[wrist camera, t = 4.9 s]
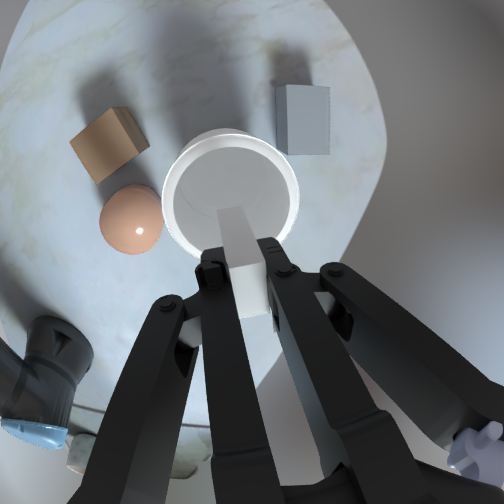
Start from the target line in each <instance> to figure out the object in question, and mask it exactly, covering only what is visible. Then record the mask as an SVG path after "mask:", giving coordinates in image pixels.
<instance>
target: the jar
mask: <svg viewBox="0 0 504 504" xmlns="http://www.w3.org/2000/svg"><path fill="white" fill-rule="evenodd" d="M299 203H300V195H299V187H298V183H297V179H296V176H295V174H294V172H293V170H292V168H291V166H290V164H289V163H288V162H287V160H286V159H285V158H284V157H283V155H282V154H281V153H280V152H278V151H277V150H276V149H275V148H274V147H272V146H271V145H269V144H268V143H266V142H264V141H262V140H260V139H258V138H257V137H255V136H253V135H251V134H249V133H247V132H244V131H241V130H237V129H230V128H221V129H214V130H210V131H207V132H205V133H202V134H200V135H198V136H197V137H195V138H194V139H192V140H191V141H190V142H189V143H188V144H187V145H186V146H185V147H184V148H183V149H182V150H181V152H180V153H179V154H178V156H177V158H176V160H175V162H174V164H173V166H172V167H171V169H170V171H169V172H168V175H167V177H166V179H165V182H164V186H163V191H162V212H163V217H164V221H165V224H166V226H167V228H168V230H169V232H170V234H171V236H172V237H173V239H174V240H175V241H176V243H177V244H178V245H179V246H180V247H181V248H182V249H183V250H184V251H186V252H187V253H188V254H190V255H191V256H193V257H194V258H196V259H198V260H200V261H201V258H200V255H201V254H202V252H203V251H204V250H206V249H211V248H216V247H222V246H223V242H222V237H221V231H220V226H219V220H218V214H217V210H219V209H225V208H230V207H236V206H242V208H243V210H244V213H245V215H246V217H247V220H248V222H249V224H250V227H251V229H252V231H253V234H254V236H255V238H256V239H261V238H267V237H273V238H275V239H276V240H278V241H279V243H280V245H281V244H282V243H283V242H284V241H285V239H286V238H287V237H288V235H289V234H290V232H291V230H292V228H293V226H294V224H295V222H296V219H297V215H298V211H299Z"/></svg>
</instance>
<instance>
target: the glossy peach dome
mask: <svg viewBox="0 0 504 504" xmlns="http://www.w3.org/2000/svg"><path fill="white" fill-rule="evenodd" d="M99 223H100V229H101V233H102V235H103V237H104V239H105V240H106V241H107V243H108V244H109V245H110V246H111V247H113V248H114V249H116V250H117V251H119V252H122V253H125V254H140V253H144V252H146V251H148V250H149V249H151V248H152V247H153V246H154V245H155V244H156V242H157V241H158V239H159V237H160V234H161V230H162V227H163V224H164V217H163V212H162V200H161V198H160V196H159V195H158V194H157V193H156V192H155V191H154V190H152V189H151V188H149V187H147V186H144V185H140V184H131V185H127V186H124V187H122V188H121V189H119V190H118V191H117V192H116V193H115V194H114V195H113V196H112V197H111V198H110V199H109V200H108V201H107V203H106V204H105V205H104V207H103V208H102V211H101V214H100V220H99Z"/></svg>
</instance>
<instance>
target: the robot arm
mask: <svg viewBox="0 0 504 504" xmlns="http://www.w3.org/2000/svg"><path fill="white" fill-rule="evenodd" d="M217 214H218V220H219V226H220V231H221V237H222V242H223V246H222V247H216V248H211V249H206V250H204V251H203V252H202V254H201V255H200V258H201V263H200V264H199V265H198V266H197V267H196V269H195V274H196V278H197V282H198V285H199V291H198V292H197V293H196V294H194V295H193V296H191V297H189V298H186V299H184V300H183V299H182V298H181V297H180V296H178V295H173V294H171V295H165V296H163V297H160V298H159V299H157V300H156V301H155V302H154V304H153V305H152V307H151V309H150V311H149V313H148V315H147V317H146V319H145V321H144V323H143V326H142V328H141V330H140V332H139V334H138V336H137V339H136V341H135V343H134V345H133V347H132V350H131V352H130V354H129V356H128V359H127V361H126V363H125V366H124V368H123V370H122V373H121V375H120V377H119V380H118V382H117V385H116V387H115V389H114V392H113V394H112V397H111V399H110V402H109V404H108V407H107V410H106V412H105V415H104V417H103V420H102V423H101V426H100V428H99V431H98V434H97V437H96V439H95V442H94V445H93V448H92V451H91V454H90V457H89V460H88V463H87V466H86V470H85V473H84V476H83V479H82V483H81V486H80V487H79V488H78V490H77V491H76V492H75V494H74V495H73V496H72V497H71V499H70V500H69V501H68V503H67V504H165V500H166V495H167V490H168V485H169V479H170V475H171V470H172V465H173V460H174V455H175V451H176V446H177V441H178V437H179V432H180V428H181V423H182V419H183V414H184V410H185V406H186V401H187V397H188V393H189V388H190V384H191V380H192V376H193V372H194V368H195V363H196V359H197V355H198V351H199V345H201V344H202V347H203V360H204V372H205V383H206V394H207V403H208V413H209V421H210V430H211V438H212V445H213V455H212V457H211V472H212V479H213V485H214V492H215V498H216V504H504V491H503V490H502V489H501V487H502V485H503V482H504V386H502V385H499V384H497V383H495V382H492V381H490V380H489V379H488V378H487V377H486V376H485V375H483V374H482V373H481V372H480V371H479V370H478V369H477V368H476V367H474V366H473V365H472V364H471V363H470V362H469V361H467V360H466V359H465V358H464V357H463V356H462V355H461V354H459V353H458V352H457V351H456V350H455V349H454V348H452V347H451V346H450V345H449V344H447V343H446V342H445V341H444V340H443V339H442V338H440V337H439V336H438V335H437V334H435V333H434V332H433V331H432V330H431V329H429V328H428V327H427V326H426V325H424V324H423V323H422V322H420V321H419V320H418V319H417V318H416V317H414V316H413V315H412V314H411V313H409V312H408V311H407V310H405V309H404V308H403V307H402V306H400V305H399V304H398V303H396V302H395V301H394V300H393V299H391V298H390V297H389V296H387V295H386V294H385V293H383V292H382V291H381V290H379V289H378V288H377V287H375V286H374V285H373V284H371V283H370V282H369V281H367V280H366V279H365V278H363V277H362V276H361V275H359V274H358V273H357V272H355V271H354V270H353V269H351V268H350V267H348V266H346V265H345V264H343V263H338V262H330V263H326V264H324V265H323V266H322V267H321V268H320V273H306V272H302V271H301V270H300V268H299V267H298V266H297V265H295V264H292V263H291V262H290V260H289V259H288V257H287V255H286V253H285V252H284V251H283V248H282V247H281V245H280V243H279V241H278V240H276V239H275V238H273V237H267V238H261V239H256V238H255V236H254V234H253V231H252V229H251V227H250V224H249V222H248V220H247V217H246V215H245V213H244V210H243V208H242V206H236V207H230V208H225V209H219V210H217ZM270 307H271V310H272V317H273V328H274V332H276V331H277V334H278V337H279V340H280V343H281V346H282V349H283V351H284V354H285V357H286V360H287V363H288V366H289V369H290V372H291V374H292V377H293V380H294V383H295V386H296V389H297V392H298V395H299V397H300V400H301V403H302V406H303V409H304V412H305V415H306V418H307V420H308V423H309V426H310V429H311V432H312V435H313V438H314V440H315V443H316V446H317V449H318V452H319V456H320V463H321V468H322V471H323V475H324V477H325V479H323V480H322V481H320V482H318V483H316V484H313V485H299V486H298V485H296V486H280V482H279V479H278V475H277V471H276V467H275V464H274V460H273V456H272V453H271V449H270V446H269V443H268V438H267V434H266V431H265V427H264V423H263V419H262V415H261V411H260V407H259V403H258V399H257V394H256V390H255V386H254V382H253V377H252V373H251V369H250V365H249V360H248V356H247V351H246V347H245V343H244V338H243V334H242V329H241V325H240V320H239V319H243V318H248V317H253V316H258V315H262V314H267V313H270ZM349 355H350V356H351V357H352V358H353V359H354V360H355V361H356V362H357V363H358V364H359V365H360V366H361V367H362V368H363V369H364V370H365V372H366V373H367V374H368V375H369V376H370V377H371V378H372V379H373V380H374V381H375V382H376V383H377V384H378V385H379V386H380V387H381V388H382V390H384V392H385V393H386V394H387V395H388V396H389V397H390V398H391V399H392V400H393V401H394V402H395V403H396V404H397V405H398V406H399V407H400V408H401V410H402V411H403V412H404V413H405V414H406V415H407V416H408V417H409V418H410V419H411V420H412V421H413V422H414V423H415V424H416V425H417V426H418V428H419V429H420V430H421V431H422V432H423V433H424V434H425V435H426V436H427V437H428V438H430V440H432V441H433V442H434V443H435V444H437V445H438V446H440V447H441V448H443V449H444V450H446V451H448V452H450V455H449V456H448V459H447V464H448V465H449V467H451V468H456V469H457V470H458V471H460V473H461V475H462V476H459V475H456V474H454V473H450V472H448V471H445V470H442V469H439V468H437V467H434V466H431V465H429V464H426V463H424V462H421V461H419V460H416V459H414V457H413V455H412V453H411V451H410V449H409V447H408V445H407V443H406V441H405V439H404V437H403V435H402V433H401V431H400V429H399V428H398V426H397V424H396V422H395V420H394V419H393V417H392V416H391V414H390V413H389V412H387V411H386V410H380V409H379V408H378V407H377V406H376V404H375V403H374V401H373V399H372V397H371V395H370V393H369V391H368V389H367V387H366V385H365V384H364V382H363V380H362V378H361V376H360V374H359V372H358V370H357V369H356V367H355V365H354V363H353V361H352V359H351V358H350V356H349ZM93 357H94V353H93V349H92V347H91V345H90V343H89V342H88V340H87V339H86V338H85V337H84V336H83V335H82V334H81V333H80V332H79V331H78V330H77V329H75V328H74V327H73V326H71V325H70V324H68V323H66V322H64V321H62V320H60V319H57V318H54V317H50V316H40V317H37V318H35V319H34V320H33V321H32V323H31V325H30V327H29V329H28V332H27V343H26V351H25V357H24V360H22V358H20V357H19V356H18V355H17V354H16V353H15V352H14V351H13V350H12V349H11V348H10V347H9V346H8V345H7V344H6V343H5V342H4V341H3V340H2V338H1V337H0V416H1V417H2V418H1V420H0V421H1V426H2V427H3V429H5V430H6V431H7V432H8V433H10V434H12V435H13V436H15V437H17V438H19V439H21V440H23V441H26V442H28V443H30V444H33V445H36V446H39V447H42V448H47V449H53V450H56V449H60V448H61V447H62V446H63V445H64V441H65V438H66V434H67V432H68V424H69V418H70V413H71V409H72V404H73V399H74V395H75V391H76V387H77V385H78V384H79V382H80V381H81V380H82V378H83V377H84V375H85V373H87V372H88V371H89V369H90V367H91V365H92V361H93Z"/></svg>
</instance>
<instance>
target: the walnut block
mask: <svg viewBox="0 0 504 504" xmlns="http://www.w3.org/2000/svg"><path fill="white" fill-rule="evenodd" d="M69 143H70V144H71V146H72V148H73V149H74V151H75V153H76V154H77V156H78V157H79V159H80V161H81V162H82V164H83V165H84V167H85V169H86V170H87V172H88V173H89V175H90V176H91V178H92V180H93V181H94V183H95V184H96V185H97V184H98V183H100V182H101V181H102V180H104V179H105V178H106V177H108V176H109V175H110V174H112V173H113V172H114V171H116V170H117V169H118V168H120V167H121V166H122V165H124V164H125V163H127V162H128V161H129V160H131V159H132V158H134V157H135V156H137V155H138V154H140V153H141V152H142V151H144V150H145V149H147V148H148V147H150V145H149V144H148V142H147V140H146V139H145V137H144V136H143V134H142V132H141V131H140V129H139V127H138V126H137V124H136V122H135V121H134V119H133V117H132V116H131V114H130V112H129V111H128V109H127V107H111V108H110V109H109V110H107V111H106V112H105V113H103V114H102V115H101V116H99V117H98V118H97V119H96V120H94V121H93V122H92V123H91V124H89V125H88V126H87V127H86V128H85V129H83V130H82V131H81V132H80V133H79V134H78V135H76V136H75V137H74V138H73V139H72V140H71V141H70V142H69Z"/></svg>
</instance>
